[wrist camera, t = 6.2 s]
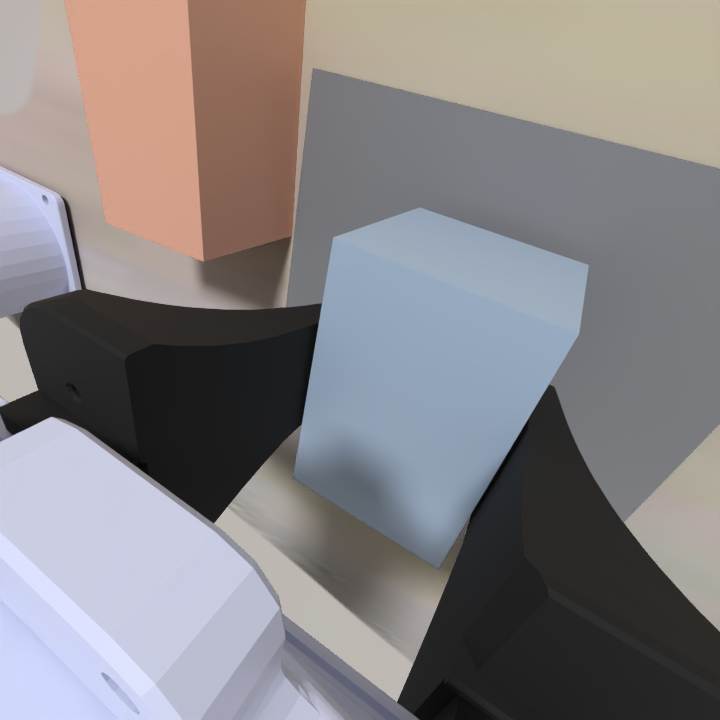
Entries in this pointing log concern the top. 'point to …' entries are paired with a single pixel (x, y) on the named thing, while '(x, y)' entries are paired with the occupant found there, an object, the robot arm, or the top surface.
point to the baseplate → (551, 233)
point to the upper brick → (193, 117)
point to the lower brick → (429, 370)
